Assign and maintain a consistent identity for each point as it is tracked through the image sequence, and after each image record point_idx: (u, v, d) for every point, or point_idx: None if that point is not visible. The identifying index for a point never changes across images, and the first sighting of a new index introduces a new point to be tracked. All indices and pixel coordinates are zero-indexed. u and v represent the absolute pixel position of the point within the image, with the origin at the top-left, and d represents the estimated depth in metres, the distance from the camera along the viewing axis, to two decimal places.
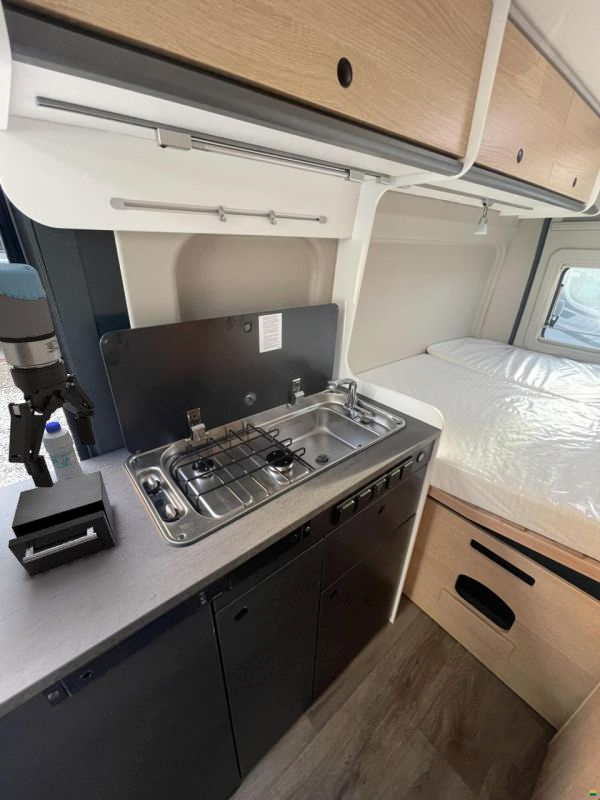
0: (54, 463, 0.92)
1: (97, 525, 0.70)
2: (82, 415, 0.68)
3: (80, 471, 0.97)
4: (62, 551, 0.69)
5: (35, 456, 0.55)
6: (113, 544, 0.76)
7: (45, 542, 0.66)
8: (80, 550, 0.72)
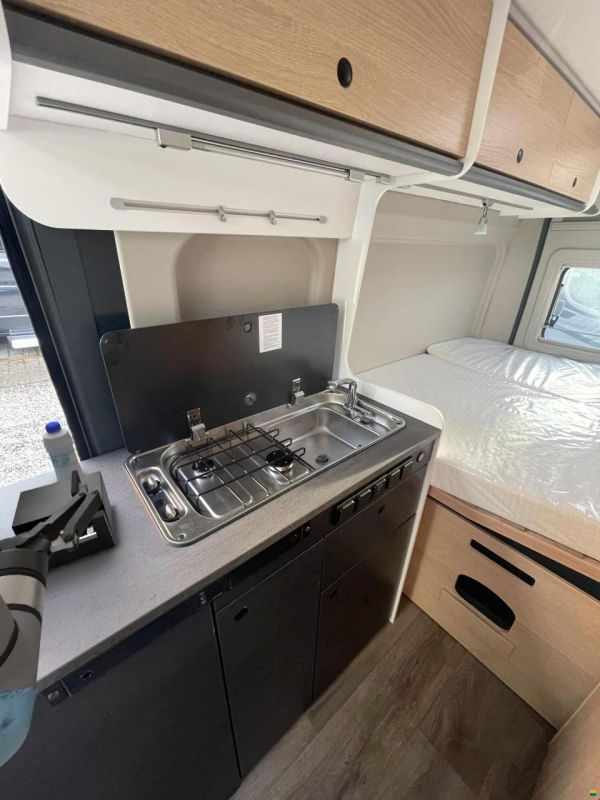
0: (54, 463, 0.92)
1: (97, 524, 0.70)
2: None
3: (80, 471, 0.97)
4: (62, 551, 0.69)
5: None
6: (113, 544, 0.76)
7: None
8: (80, 550, 0.72)
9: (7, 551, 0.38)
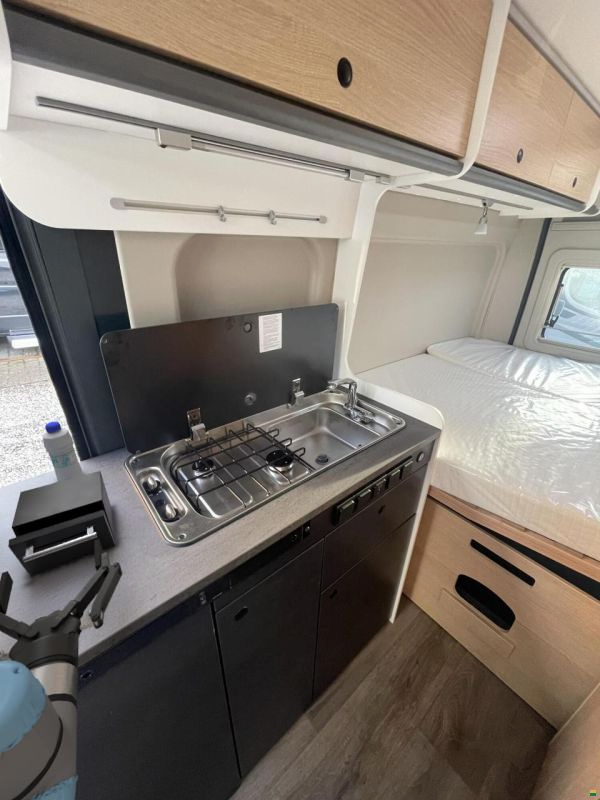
0: (54, 463, 0.92)
1: (97, 524, 0.70)
2: None
3: (80, 471, 0.97)
4: (62, 551, 0.69)
5: None
6: (113, 544, 0.76)
7: (45, 541, 0.66)
8: (80, 550, 0.72)
9: (45, 638, 0.44)
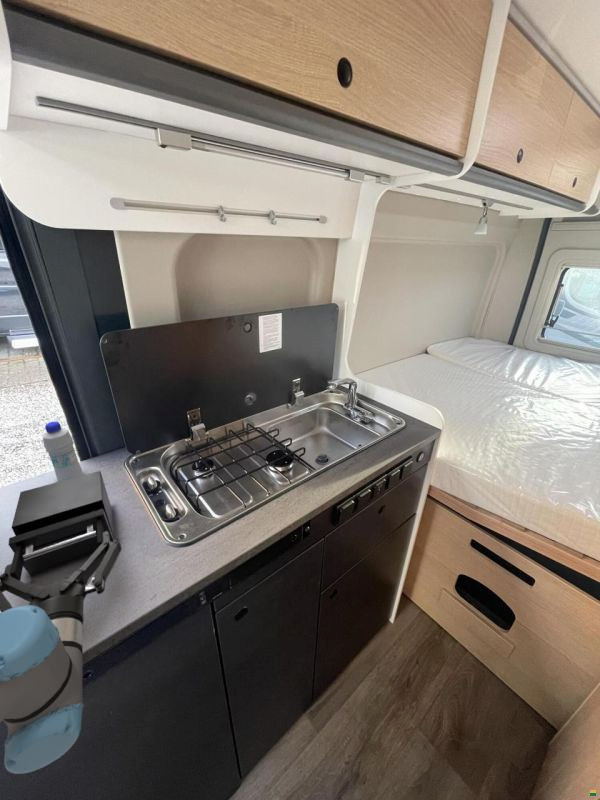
0: (54, 463, 0.92)
1: None
2: None
3: (80, 471, 0.97)
4: (62, 550, 0.69)
5: None
6: None
7: (45, 540, 0.66)
8: (80, 550, 0.72)
9: (56, 598, 0.52)
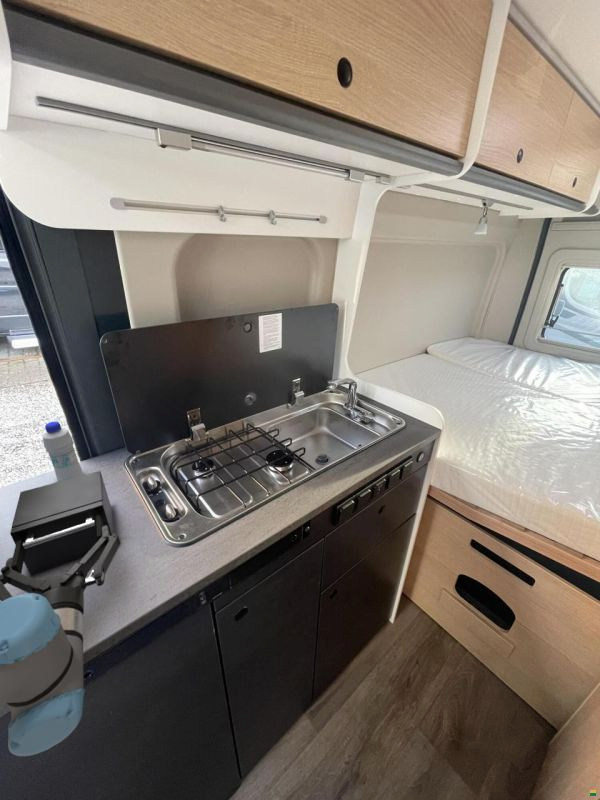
0: (54, 463, 0.92)
1: (96, 515, 0.72)
2: None
3: (80, 471, 0.97)
4: (62, 545, 0.70)
5: None
6: None
7: (45, 531, 0.68)
8: (79, 546, 0.72)
9: (56, 589, 0.53)
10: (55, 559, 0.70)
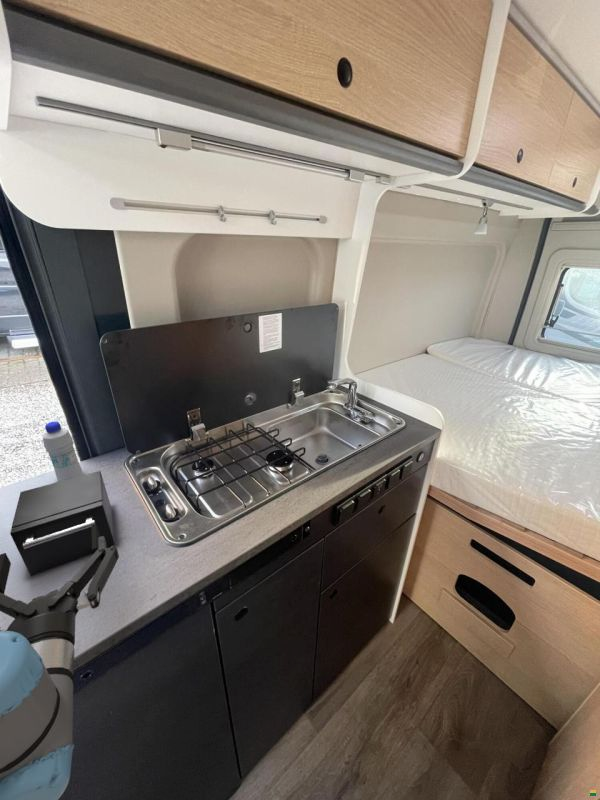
0: (54, 463, 0.92)
1: (96, 515, 0.72)
2: None
3: (80, 471, 0.97)
4: (62, 545, 0.70)
5: None
6: (113, 542, 0.76)
7: (45, 531, 0.68)
8: (79, 546, 0.72)
9: (43, 615, 0.45)
10: (55, 559, 0.70)
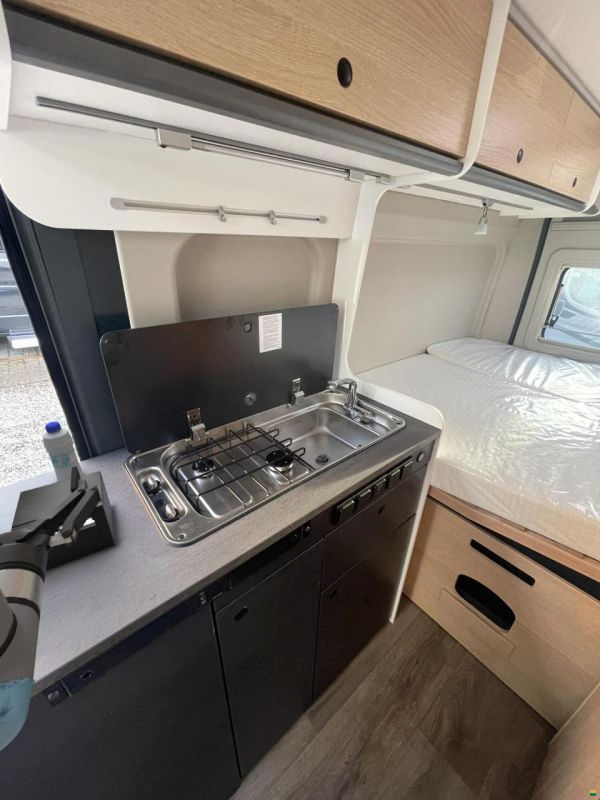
0: (54, 463, 0.92)
1: (96, 515, 0.72)
2: None
3: (80, 471, 0.97)
4: (62, 545, 0.70)
5: None
6: (113, 542, 0.76)
7: None
8: (79, 546, 0.72)
9: (7, 545, 0.39)
10: (55, 559, 0.70)
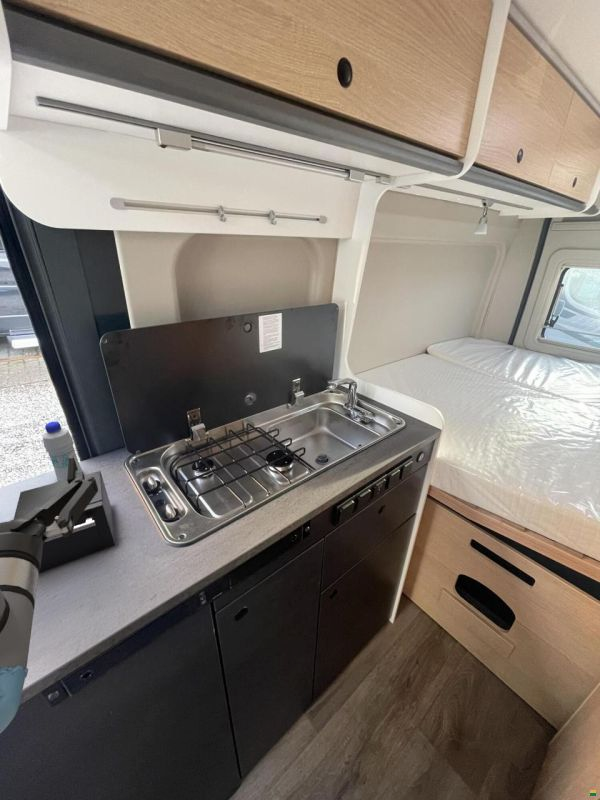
0: (54, 463, 0.92)
1: (96, 515, 0.72)
2: None
3: None
4: (62, 545, 0.70)
5: None
6: (113, 542, 0.76)
7: None
8: (79, 546, 0.72)
9: (2, 534, 0.39)
10: (55, 559, 0.70)
